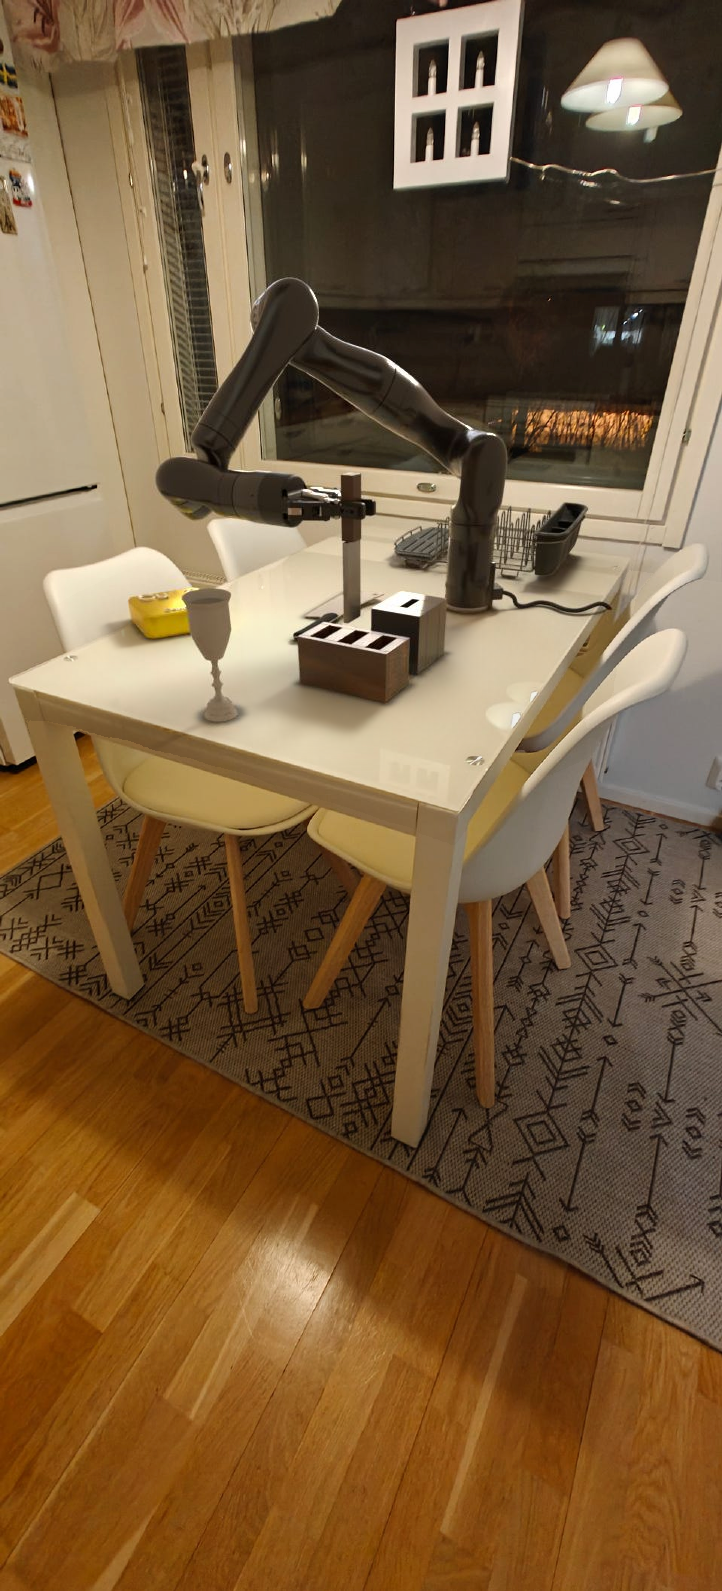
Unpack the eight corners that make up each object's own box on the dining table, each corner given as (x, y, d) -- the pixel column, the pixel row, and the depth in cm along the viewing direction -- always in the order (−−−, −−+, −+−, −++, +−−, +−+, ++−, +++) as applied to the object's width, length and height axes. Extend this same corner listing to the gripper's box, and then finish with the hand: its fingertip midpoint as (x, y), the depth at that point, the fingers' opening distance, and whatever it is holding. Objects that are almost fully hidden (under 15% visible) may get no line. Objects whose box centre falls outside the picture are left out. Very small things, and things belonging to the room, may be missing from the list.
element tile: (148, 640, 135) (144, 616, 133) (129, 618, 146) (125, 594, 144) (224, 627, 141) (221, 603, 139) (200, 606, 152) (197, 583, 150)
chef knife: (353, 614, 114) (351, 471, 103) (364, 616, 113) (364, 472, 102) (340, 622, 111) (337, 475, 100) (351, 624, 110) (349, 476, 99)
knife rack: (325, 666, 124) (323, 621, 120) (408, 684, 117) (409, 637, 113) (299, 683, 118) (297, 636, 114) (385, 703, 112) (386, 654, 107)
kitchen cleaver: (346, 587, 160) (386, 588, 155) (347, 595, 161) (387, 596, 156) (266, 631, 137) (310, 633, 132) (268, 639, 138) (312, 642, 133)
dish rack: (558, 586, 163) (566, 531, 157) (379, 566, 179) (379, 515, 172) (583, 552, 189) (591, 503, 183) (425, 536, 205) (427, 491, 198)
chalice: (200, 704, 111) (184, 589, 102) (244, 702, 112) (232, 587, 102) (195, 726, 105) (177, 605, 96) (242, 723, 106) (229, 603, 96)
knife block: (399, 644, 133) (400, 590, 127) (444, 653, 129) (447, 598, 124) (370, 664, 125) (370, 608, 119) (417, 674, 121) (419, 616, 116)
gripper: (239, 478, 102) (344, 489, 95) (294, 465, 112) (392, 474, 105) (244, 533, 106) (345, 547, 99) (296, 516, 116) (391, 527, 109)
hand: (369, 509), depth 102 cm, fingers closed on chef knife, 2 cm apart
